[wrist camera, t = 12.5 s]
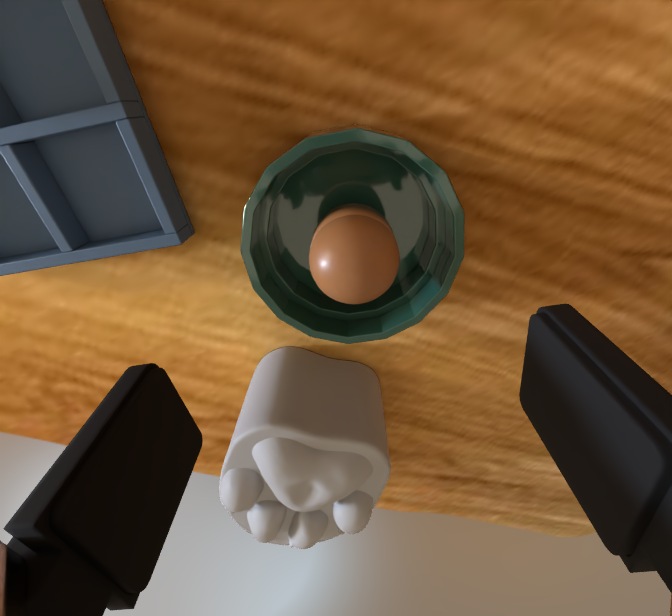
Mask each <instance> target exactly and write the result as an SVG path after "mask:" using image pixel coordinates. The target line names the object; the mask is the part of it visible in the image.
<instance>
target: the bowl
mask: <svg viewBox="0 0 672 616" xmlns="http://www.w3.org/2000/svg"><path fill="white" fill-rule="evenodd" d="M351 203H357V204H364V205H367V206H370V207H372V208H374V209H375V210H377V211H378V212H379V213H380V214H382V215H383V216H384V217H385V219H386V220H387V221H388V223H389V224H390V226H391V228H392V231H393V233H394V236H395V238H396V241H397V244H398V248H399V255H400V264H399V268H398V272H397V275H396V277H395V279H394V281H393V283H392V285H391V286H390V287H389V289H388V290H387V291H386V292H384V293H383V294H382V295H381V296H379V297H378V298H376V299H374V300H372V301H369V302H367V303H362V304H345V303H342V302H339V301H336V300H334V299H332V298H330V297H329V296H327V295H326V294H325V293H324V292H323V291H322V290H321V289H320V288H319V287H318V285H317V284H316V282H315V280H314V279H313V277H312V274H311V271H310V264H309V252H310V247H311V242H312V238H313V234H314V231H315V229H316V227H317V225H318V223H319V221H320V220H321V219H322V218H323V217H324V215H325V214H327V213H328V212H329V211H330V210H332V209H334V208H336V207H338V206H341V205H344V204H351ZM464 224H465V214H464V211H463V208H462V206H461V204H460V202H459V200H458V197H457V195H456V193H455V191H454V189H453V186H452V184H451V182H450V180H449V178H448V175H447V173H446V172H445V170H444V169H442V168H441V167H440V166H439V165H438V164H436V163H435V162H434V161H433V160H432V159H430V158H429V157H428V156H427V155H426V154H424V153H423V152H422V151H421V150H420V149H418V148H417V147H416V146H415V145H414V144H412V143H411V142H410V141H409V140H407V139H405V138H403V137H401V136H400V135H397V134H396V133H392V132H388V131H384V130H380V129H376V128H372V127H368V126H364V125H360V124H350V125H345V126H340V127H335V128H330V129H325V130H320V131H315V132H313V133H311V134H309V135H308V136H306V137H305V138H304V139H302V140H301V141H300V142H298V143H297V144H296V145H294V146H293V147H292V148H290V149H289V150H287V151H286V152H285V153H283V154H282V155H281V156H279V157H278V158H277V159H276V160H275V161H273V162H272V163H271V164H270V165H269V166H267V168H266V169H265V171H264V173H263V174H262V176H261V178H260V180H259V182H258V183H257V185H256V187H255V189H254V191H253V192H252V194H251V196H250V198H249V200H248V201H247V203H246V205H245V207H244V212H243V225H242V237H241V254H242V257H243V260H244V263H245V266H246V269H247V272H248V275H249V278H250V281H251V284H252V287H253V289H254V290H255V292H256V293H257V294H258V295H259V296H260V297H261V299H262V300H263V301H264V302H265V303H266V304H267V306H268V307H269V308H270V309H271V310H272V311H273V313H274V314H275V315H276V316H277V317H278V318H279V319H280V320H282V321H284V322H286V323H287V324H289V325H291V326H293V327H294V328H296V329H298V330H300V331H302V332H303V333H305V334H307V335H309V336H310V337H311V336H312V337H314V338H319V339H325V340H330V341H335V342H341V343H346V344H351V343H358V342H366V341H373V340H381V339H386V338H388V337H390V336H392V335H394V334H397V333H399V332H401V331H403V330H405V329H407V328H409V327H411V326H413V325H415V324H417V323H419V322H420V321H421V320H422V319H423V318H424V317H425V316H426V315H427V314H428V313H429V312H430V311H431V310H432V309H433V308H434V307H435V306H436V305H437V304H438V303H439V302H440V301H441V300H442V299H443V298H444V297H445V296H446V295H447V294H448V292H449V290H450V287H451V285H452V283H453V281H454V278H455V276H456V274H457V271H458V269H459V267H460V265H461V262H462V260H463V258H464Z"/></svg>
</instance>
